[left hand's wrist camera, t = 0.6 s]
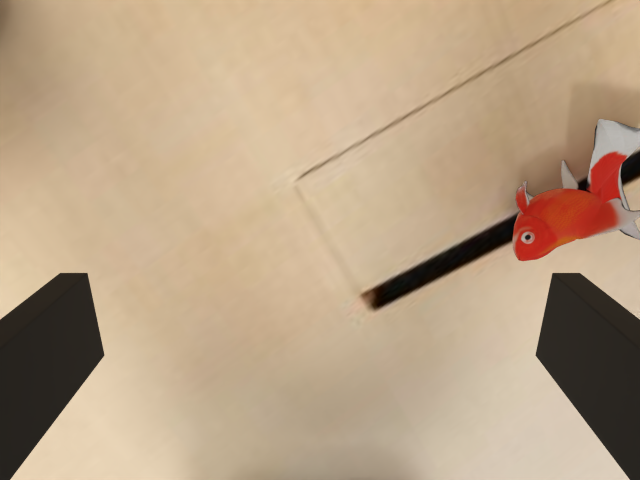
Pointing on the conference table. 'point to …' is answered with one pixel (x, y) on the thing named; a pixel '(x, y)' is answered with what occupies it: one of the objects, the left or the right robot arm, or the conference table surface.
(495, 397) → the conference table surface
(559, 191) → the fish
